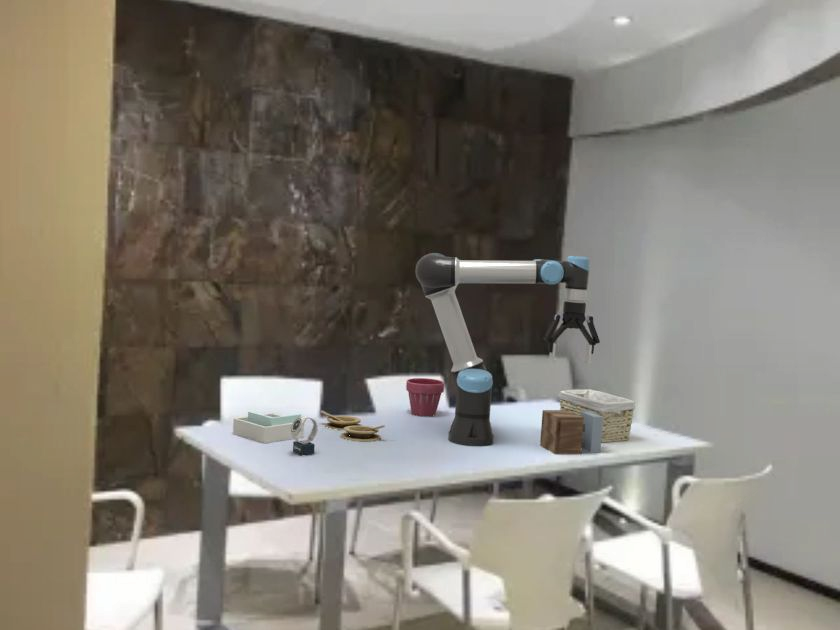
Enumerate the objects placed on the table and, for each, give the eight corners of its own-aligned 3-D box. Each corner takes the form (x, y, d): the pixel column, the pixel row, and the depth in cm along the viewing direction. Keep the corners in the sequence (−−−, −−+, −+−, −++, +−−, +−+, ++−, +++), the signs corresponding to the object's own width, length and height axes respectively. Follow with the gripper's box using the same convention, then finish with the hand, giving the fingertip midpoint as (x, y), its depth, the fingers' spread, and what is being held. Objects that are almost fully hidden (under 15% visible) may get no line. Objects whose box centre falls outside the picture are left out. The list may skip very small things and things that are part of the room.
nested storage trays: (264, 443, 284) (265, 427, 284) (232, 433, 295) (233, 418, 295) (303, 437, 296) (304, 422, 296) (272, 428, 307) (272, 413, 306)
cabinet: (583, 453, 298) (586, 417, 297) (555, 454, 295) (558, 417, 294) (567, 445, 309) (569, 410, 308) (540, 445, 306) (542, 410, 305)
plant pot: (412, 418, 338) (414, 384, 337) (399, 410, 351) (401, 377, 350) (447, 417, 343) (450, 384, 342) (433, 410, 356) (435, 378, 355)
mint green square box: (300, 437, 296) (301, 414, 296) (270, 441, 287) (271, 418, 287) (276, 430, 304) (277, 408, 304) (247, 434, 295) (248, 411, 295)
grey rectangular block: (600, 452, 301) (603, 416, 300) (590, 452, 300) (593, 416, 299) (586, 446, 310) (589, 411, 309) (577, 446, 309) (580, 411, 308)
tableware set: (396, 442, 300) (397, 424, 300) (339, 445, 292) (340, 427, 291) (362, 423, 327) (363, 407, 326) (309, 425, 318) (310, 408, 318)
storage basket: (634, 441, 323) (637, 400, 322) (600, 444, 314) (604, 402, 313) (587, 427, 343) (590, 388, 342) (554, 429, 334) (557, 390, 333)
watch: (286, 452, 275) (288, 416, 274) (310, 450, 280) (312, 414, 279) (295, 456, 271) (297, 419, 270) (319, 454, 275) (321, 418, 274)
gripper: (602, 302, 321) (597, 362, 323) (537, 298, 314) (531, 359, 316) (613, 304, 314) (607, 365, 316) (546, 300, 307) (540, 363, 309)
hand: (569, 362), depth 316 cm, fingers open, 13 cm apart
